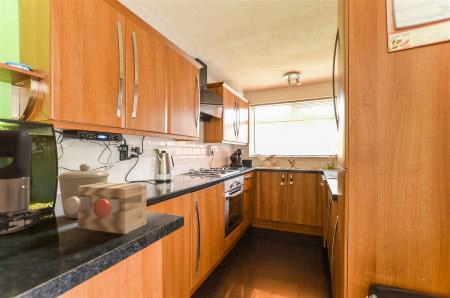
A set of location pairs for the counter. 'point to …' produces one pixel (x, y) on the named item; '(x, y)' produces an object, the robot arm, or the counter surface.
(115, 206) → the red plug
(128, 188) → the block
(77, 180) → the canister
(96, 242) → the counter surface
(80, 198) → the beige plug
